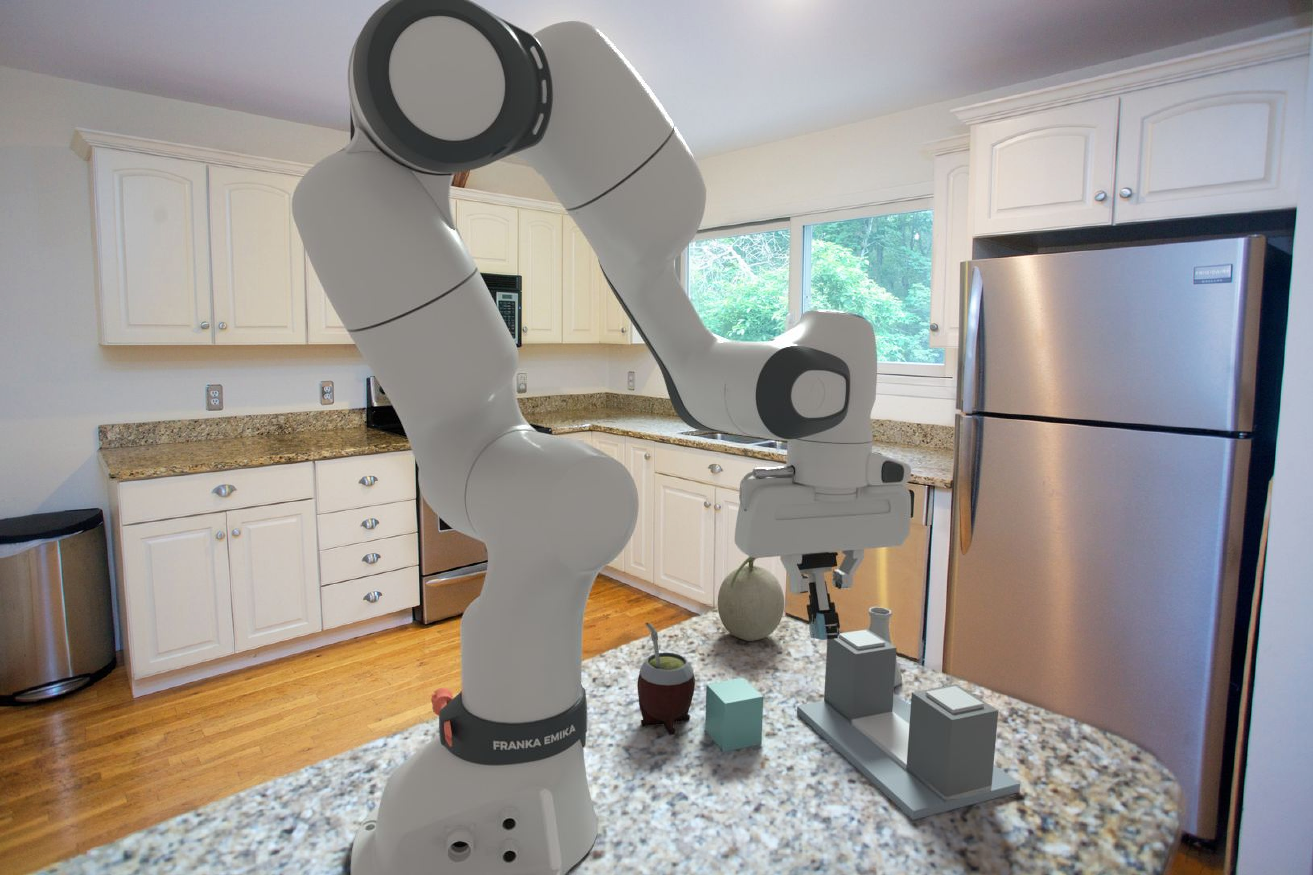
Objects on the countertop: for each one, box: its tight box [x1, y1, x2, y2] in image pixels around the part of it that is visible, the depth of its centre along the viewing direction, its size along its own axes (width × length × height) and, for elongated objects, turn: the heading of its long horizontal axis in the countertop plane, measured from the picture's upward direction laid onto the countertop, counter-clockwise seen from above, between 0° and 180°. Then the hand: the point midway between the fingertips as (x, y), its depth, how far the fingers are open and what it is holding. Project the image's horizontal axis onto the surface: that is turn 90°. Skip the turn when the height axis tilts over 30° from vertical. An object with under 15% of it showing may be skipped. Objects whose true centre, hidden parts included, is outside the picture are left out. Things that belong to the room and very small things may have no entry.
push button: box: [797, 551, 841, 641], centre depth 80 cm, size 7×5×10 cm
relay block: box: [704, 677, 764, 752], centre depth 87 cm, size 5×5×6 cm
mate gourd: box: [636, 622, 696, 736], centre depth 89 cm, size 8×8×15 cm
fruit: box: [717, 556, 785, 642], centre depth 115 cm, size 10×12×15 cm
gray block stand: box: [796, 628, 1021, 821], centre depth 85 cm, size 14×22×10 cm, turn 20°
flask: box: [867, 606, 903, 688], centre depth 103 cm, size 7×7×10 cm
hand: (820, 589), depth 80 cm, fingers closed on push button, 4 cm apart
